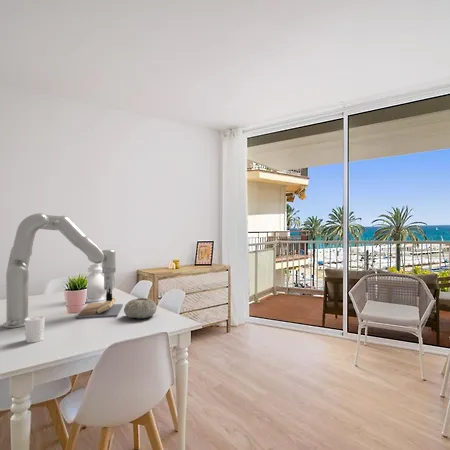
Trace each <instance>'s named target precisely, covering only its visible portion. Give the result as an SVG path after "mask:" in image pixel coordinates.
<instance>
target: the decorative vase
mask: <svg viewBox="0 0 450 450" xmlns="http://www.w3.org/2000/svg"><path fill="white" fill-rule="evenodd" d="M88 264H89V267H88V269H87V272H88V273H89V274H88V275H87V276H86V278H87V279H88V286H87V296H86V297H87V298H86V299H87V301H86V302H89V303H97V302H101V301H104V300H106V297H104V295H105V294H106V290H105V289H104V275H103V274H102V265H101V264H102V262H101V263H99V264H96V263H93V262H92V263H88Z"/></svg>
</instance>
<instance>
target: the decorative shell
mask: <svg viewBox="0 0 450 450" xmlns="http://www.w3.org/2000/svg"><path fill="white" fill-rule="evenodd" d="M123 311H124V314H125V316H126V317H128V318H130V319H131V318H132V319H147V318H150V317H153V315H155V314H156V312H157V304H156V302H155V301H154V299H151V298H149V297H146V298H145V297H138V298H135V299H134V298H133V299H131V300H129V301H128V302H127V303H126V304H125V306H124V308H123Z"/></svg>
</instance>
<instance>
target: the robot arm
mask: <svg viewBox="0 0 450 450" xmlns="http://www.w3.org/2000/svg"><path fill="white" fill-rule="evenodd" d="M39 230H49V231H58V232H60V233H61V234H62V235H63V236H64V237H65V238H66V239H67V240H68V241H69V242H70V244H72V245H73V246H74V247H76V248H77V249H79V250H80V251H82V253H84V254H85V255H86V257H87V259H88V261H89V262H91V263H92V264H93V263H96V264H99V263H101V264H102V265H101V267H102V271H101V274H103V277H104V289H105V290H106V293H105V294H106V295H105V301H112V298H113V290H114V289H115V287H116V281H115V277H116V276H115V274H116V251H115V249H103V250H102V249H100V248H99V247H98V245H96V244H95V243H94V242H93V241H92V240H91V239H90V237H89V236H88V235H86V234H85V233H84V232H83V230H81V228H79V226H78V225H76V224H75V222H74V221H73V220H71V218H69V217H68V216H66V215H53V214H52V215H50V214H45V213H43V212H37V213H33V214H30V215H28V216H26V217H25V218H24V219H22V220H21V221H20V223H19V224H18V226H17V229H16V233H15V237H14V241H13V244H12V245H13V246H12V247H11V249H10V253H9V257H8V262H7V266H6V267H7V268H6V273H5V277H6V278H5V281H6V282H5V283H6V285H5V287H6V293H5V294H6V300H5V301H6V302H5V303H6V307H5V308H6V310H5V311H6V313H5V314H6V315H5V316H6V318H5V319H6V321H5V322H3V323H2V328H4V329H5V328H6V329H14V328H21V327H25V318H28V317H29V263H30V261H31V260H30V259H31V256H32V254H33V247H34V246H33V245H34V240H35V237H36V233H37V232H38V231H39Z"/></svg>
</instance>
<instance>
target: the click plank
mask: <svg viewBox="0 0 450 450" xmlns="http://www.w3.org/2000/svg"><path fill="white" fill-rule="evenodd" d="M116 300H117V299H116V297H115V296H114V297H112V301H106V300H105V301H104V302H101V303H102V305H101V306H100V307H99V309H98V310H97V312H98V314H99V313H101V312H103V311H105V310H107V309H109V308H111V307H112V305H113V304H114V303H115V302H116Z"/></svg>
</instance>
